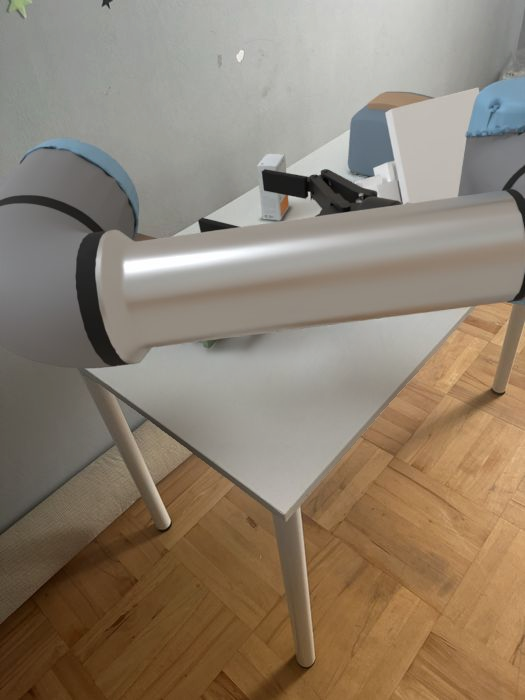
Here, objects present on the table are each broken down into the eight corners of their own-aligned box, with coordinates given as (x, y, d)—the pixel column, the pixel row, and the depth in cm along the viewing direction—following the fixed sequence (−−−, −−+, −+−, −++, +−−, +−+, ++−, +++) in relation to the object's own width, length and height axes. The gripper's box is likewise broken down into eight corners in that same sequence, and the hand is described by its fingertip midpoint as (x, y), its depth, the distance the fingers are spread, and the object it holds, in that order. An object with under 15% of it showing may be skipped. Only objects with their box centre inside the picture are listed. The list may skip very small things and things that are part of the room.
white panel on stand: (388, 254, 91) (359, 116, 86) (353, 255, 107) (326, 138, 102) (499, 221, 95) (478, 87, 90) (449, 226, 111) (429, 112, 105)
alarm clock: (441, 160, 119) (451, 87, 108) (405, 189, 111) (412, 113, 100) (381, 148, 128) (384, 79, 117) (344, 173, 120) (343, 103, 109)
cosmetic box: (281, 221, 107) (275, 166, 99) (262, 219, 108) (255, 165, 100) (290, 207, 111) (285, 153, 103) (271, 206, 112) (266, 152, 104)
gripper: (341, 333, 50) (178, 280, 59) (431, 214, 64) (288, 187, 73) (340, 270, 44) (163, 223, 54) (439, 156, 58) (283, 135, 68)
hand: (234, 203), depth 64 cm, fingers open, 13 cm apart
